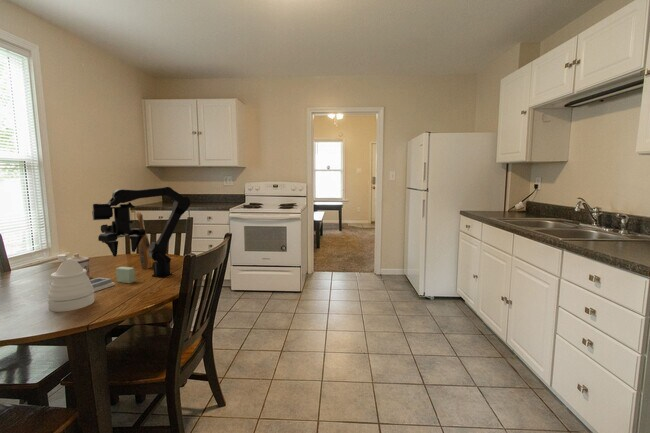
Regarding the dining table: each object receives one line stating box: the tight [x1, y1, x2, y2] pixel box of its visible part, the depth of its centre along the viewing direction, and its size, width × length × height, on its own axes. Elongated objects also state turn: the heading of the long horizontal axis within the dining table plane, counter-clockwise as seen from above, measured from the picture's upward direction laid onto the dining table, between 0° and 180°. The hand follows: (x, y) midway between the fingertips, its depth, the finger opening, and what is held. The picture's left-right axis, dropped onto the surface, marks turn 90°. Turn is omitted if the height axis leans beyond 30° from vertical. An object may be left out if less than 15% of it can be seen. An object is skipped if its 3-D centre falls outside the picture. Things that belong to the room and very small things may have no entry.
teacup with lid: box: [69, 252, 91, 279], centre depth 144 cm, size 12×9×12 cm
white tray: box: [89, 276, 115, 293], centre depth 132 cm, size 10×12×2 cm
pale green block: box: [115, 266, 136, 284], centre depth 141 cm, size 7×3×6 cm, turn 74°
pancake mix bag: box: [135, 211, 154, 270], centre depth 166 cm, size 7×19×28 cm, turn 28°
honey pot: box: [47, 254, 95, 312], centre depth 114 cm, size 13×13×18 cm
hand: (124, 254), depth 141 cm, fingers open, 9 cm apart
